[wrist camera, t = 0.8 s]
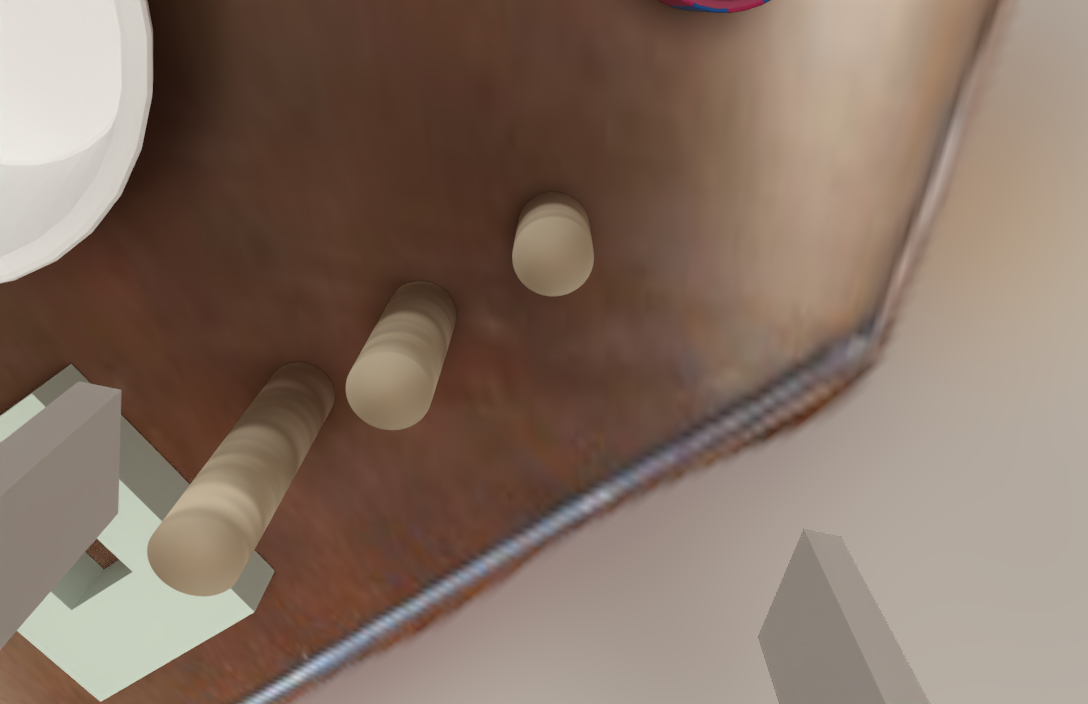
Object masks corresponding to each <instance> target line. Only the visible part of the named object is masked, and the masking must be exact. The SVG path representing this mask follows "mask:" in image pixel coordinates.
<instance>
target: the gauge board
mask: <svg viewBox="0 0 1088 704" xmlns="http://www.w3.org/2000/svg"><path fill="white" fill-rule="evenodd" d="M78 381H80V382H85V383H90V382H89V381H88V380H87V379H86V378H85V377H84V376H83V375H82V374H81V373H80V372H79V371H78V370H77V369H76V368H75V367H74V366H73V365H72V364H70V365H69V366H68V367H66V368H65V369H63V370H62V371H61V372H59V373H58V374H57V375H55V376H54V377H52V378H51V379H50V380H48V381H47V382H46V383H44V384H43V385H41V386H40V387H39V388H37V389H36V390H35V391H33V392H32V393H30V394H29V395H28V396H26V397H25V398H24V399H22V400H21V401H19V402H18V403H17V404H15V405H14V406H13V407H11V408H10V409H8V410H7V411H6V412H4V413H3V414H2V415H0V443H1V442H2V441H3V440H4V439H6V438H7V437H8V436H10V435H11V434H12V433H13V432H15V431H16V430H17V429H18V428H20V427H21V426H22V425H24V424H25V423H26V422H27V421H29V420H30V419H31V418H33V417H34V416H35V415H36V414H38V413H39V412H40V411H41V410H43V409H44V408H45V407H47V406H48V405H49V404H50V403H52V402H53V401H54V400H55V399H57V398H58V397H59V396H61V395H62V394H63V393H64V392H66V391H67V390H68V389H69V388H71V387H72V386H73V385H75V384H76V383H77V382H78ZM90 384H91V383H90ZM189 485H190V484H189V483H188V482H187V481H186V480H185V479H184V478H183V477H182V476H181V475H180V474H179V473H178V472H177V471H176V470H175V469H174V468H173V467H172V466H171V465H170V464H169V463H168V462H167V461H166V460H165V459H164V458H163V457H162V456H161V455H160V454H159V452H158V451H157V450H156V449H155V448H154V447H153V446H152V445H151V444H150V443H149V442H148V441H147V440H146V439H145V438H144V437H143V436H142V435H141V434H140V433H139V432H138V431H137V430H136V429H135V428H134V427H133V426H132V425H131V424H130V423H129V422H128V421H127V420H126V419H125V418H124V417H123V416H122V415H121V423H120V462H119V502H118V514H117V515H116V517H115V518H114V519H113V520H112V521H111V522H110V523H109V525H108V526H107V527H106V528H105V529H104V530H103V532H102V533H101V534H100V535H99V536H98V537H97V539H98V540H99V541H100V542H101V543H102V544H103V545H104V546H105V547H107V548H108V549H109V550H110V551H111V552H112V553H113V554H114V555H115V556H116V557H117V558H118V559H119V560H118V561H116V562H115V563H113V564H111V565H110V566H108V567H107V568H105V569H103V568H102V567H101V566H100V565H99V564H98V563H97V562H96V561H95V560H93V559H92V558H91V557H90V556H89V555H88V554H87V553H86V552H84V553H83V555H82V556H81V557H80V558H79V559H78V560H77V562H76V563H75V564H74V565H73V566H72V567H71V568H70V570H69V571H68V572H67V573H66V574H65V575H64V577H63V578H62V579H61V580H60V581H59V582H58V584H57V585H56V586H55V587H54V588H53V589H52V590H51V592H50V593H49V594H48V595H47V596H46V597H45V599H44V600H43V601H42V602H41V603H40V604H39V605H38V607H37V608H36V609H35V610H34V611H33V612H32V614H31V615H30V616H29V617H28V618H27V619H26V620H25V622H24V623H23V624H22V625H21V626H20V627H19V629H18V630H17V631H18V632H19V633H20V634H21V635H23V636H24V637H25V638H26V639H27V640H28V641H30V642H31V643H32V644H33V645H34V646H35V647H37V648H38V649H39V650H40V651H41V652H42V653H44V654H45V655H46V656H47V657H48V658H50V659H51V660H52V661H53V662H54V663H55V664H57V665H58V666H59V667H60V668H61V669H62V670H64V671H65V672H66V673H67V674H68V675H69V676H71V677H72V678H73V679H74V680H75V681H77V682H78V683H79V684H80V685H81V686H82V687H84V688H85V689H86V690H87V691H88V692H89V693H91V694H92V695H93V696H94V697H95V698H96V699H98V700H99V701H100V702H101V701H103V700H104V699H106V698H108V697H110V696H111V695H113V694H115V693H116V692H118V691H120V690H122V689H123V688H125V687H127V686H129V685H130V684H132V683H134V682H135V681H137V680H139V679H141V678H142V677H144V676H146V675H147V674H149V673H151V672H153V671H154V670H156V669H158V668H159V667H161V666H163V665H165V664H166V663H168V662H170V661H171V660H173V659H175V658H177V657H178V656H180V655H182V654H183V653H185V652H187V651H189V650H190V649H192V648H194V647H195V646H197V645H199V644H201V643H202V642H204V641H206V640H207V639H209V638H211V637H213V636H214V635H216V634H218V633H219V632H221V631H223V630H225V629H226V628H228V627H230V626H231V625H233V624H235V623H237V622H238V621H240V620H242V619H243V618H245V617H247V616H249V615H250V614H252V613H254V612H255V610H256V608H257V606H258V604H259V602H260V600H261V598H262V596H263V594H264V592H265V590H266V588H267V586H268V584H269V582H270V580H271V578H272V576H273V574H274V572H275V571H274V570H273V569H272V567H271V566H270V565H269V564H268V563H267V562H266V561H265V560H264V559H263V558H262V557H261V556H260V555H259V554H258V553H257V552H256V551H255V550H254V551H253V553H252V555H251V557H250V559H249V560H248V562H247V564H246V566H245V568H244V570H243V571H242V573H241V575H240V577H239V579H238V580H237V582H236V583H235V584H234V585H233V586H232V587H231V588H230V589H228V590H227V591H225V592H223V593H220V594H217V595H213V596H193V595H188V594H185V593H182V592H179V591H177V590H175V589H173V588H171V587H170V586H168V585H167V584H165V583H164V582H163V581H162V580H161V579H160V578H159V577H158V576H157V575H156V574H155V572H154V571H153V569H152V568H151V566H150V563H149V560H148V556H147V546H148V542H149V540H150V538H151V536H152V535H153V533H154V532H155V530H156V529H157V528H158V526H159V525H160V524H161V522H162V521H163V520H164V518H165V517H166V516H167V514H168V513H169V512H170V511H171V509H172V508H173V507H174V505H175V504H176V503H177V501H178V500H179V499H180V497H181V496H182V495H183V493H184V492H185V491H186V489H187V488H188V487H189Z"/></svg>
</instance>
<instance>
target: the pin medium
mask: <svg viewBox="0 0 1088 704" xmlns="http://www.w3.org/2000/svg"><path fill="white" fill-rule="evenodd" d="M456 319H457V311H456V307H455V304H454V302H453V300H452V298H451V296H450V295H449V294H448V293H447V292H446V291H445V290H444V289H443V288H441V287H440V286H438V285H436V284H434V283H431V282H427V281H413V282H409V283H407V284H404V285H403V286H401V287H400V288H398V289H397V290H396V291H395V292H394V294H393V295H392V297H391V299H390V300H389V302H388V304H387V306H386V308H385V309H384V311H383V313H382V315H381V317H380V318H379V320H378V322H377V324H376V326H375V327H374V329H373V331H372V333H371V335H370V336H369V338H368V340H367V342H366V344H365V346H364V347H363V349H362V351H361V353H360V355H359V356H358V358H357V360H356V362H355V364H354V365H353V367H352V369H351V371H350V373H349V375H348V377H347V381H346V396H347V399H348V402H349V404H350V406H351V408H352V410H353V411H354V412H355V413H356V414H357V416H358V417H359V418H361V419H362V420H363V421H365V422H366V423H368V424H370V425H372V426H374V427H377V428H380V429H385V430H400V429H405V428H408V427H410V426H412V425H414V424H416V423H417V422H419V421H420V420H421V419H422V418H423V417H424V416H425V414H426V413H427V411H428V410H429V407H430V405H431V402H432V398H433V395H434V392H435V389H436V385H437V382H438V379H439V376H440V372H441V369H442V366H443V363H444V359H445V356H446V353H447V350H448V347H449V343H450V340H451V337H452V334H453V330H454V327H455V324H456Z"/></svg>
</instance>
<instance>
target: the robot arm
mask: <svg viewBox="0 0 1088 704" xmlns="http://www.w3.org/2000/svg"><path fill="white" fill-rule="evenodd" d="M120 423H121V390H119V389H115V388H110V387H105V386H100V385H95V384H90V383H85V382H80V381H78V382H77V383H76V384H75V385H73V386H72V387H71V388H69V389H68V390H67V391H66V392H64V393H63V394H62V395H61V396H59V397H58V398H57V399H55V400H54V401H53V402H52V403H50V404H49V405H48V406H47V407H45V408H44V409H43V410H41V411H40V412H39V413H38V414H36V415H35V416H34V417H33V418H31V419H30V420H29V421H27V422H26V423H25V424H24V425H22V426H21V427H20V428H18V429H17V430H16V431H15V432H13V433H12V434H11V435H10V436H8V437H7V438H6V439H4V440H3V441H2V442H1V443H0V649H1V648H2V647H3V646H4V645H5V644H6V642H7V641H8V640H9V639H10V638H11V637H12V635H13V634H14V633H15V632H16V631H17V630H18V629H19V627H20V626H21V625H22V624H23V623H24V622H25V620H26V619H27V618H28V617H29V616H30V615H31V614H32V612H33V611H34V610H35V609H36V608H37V607H38V605H39V604H40V603H41V602H42V601H43V600H44V599H45V597H46V596H47V595H48V594H49V593H50V592H51V590H52V589H53V588H54V587H55V586H56V585H57V584H58V582H59V581H60V580H61V579H62V578H63V577H64V575H65V574H66V573H67V572H68V571H69V570H70V568H71V567H72V566H73V565H74V564H75V563H76V562H77V560H78V559H79V558H80V557H81V556H82V555H83V553H84V552H85V551H86V550H87V549H88V548H89V547H90V545H91V544H92V543H93V542H94V541H95V540H96V538H97V537H98V536H99V535H100V534H101V533H102V532H103V530H104V529H105V528H106V527H107V526H108V525H109V523H110V522H111V521H112V520H113V519H114V518H115V517H116V515H117V514H118V502H119V462H120ZM758 638H759V641H760V645H761V648H762V651H763V654H764V657H765V660H766V663H767V667H768V670H769V673H770V676H771V679H772V682H773V685H774V689H775V691H776V695H777V698H778V701H779V704H930V702H929V700H928V698H927V697H926V695H925V693H924V691H923V689H922V687H921V686H920V684H919V682H918V680H917V678H916V676H915V674H914V672H913V671H912V669H911V667H910V665H909V663H908V661H907V659H906V657H905V655H904V654H903V652H902V650H901V648H900V646H899V644H898V642H897V641H896V639H895V637H894V635H893V633H892V631H891V629H890V628H889V626H888V624H887V622H886V620H885V618H884V616H883V614H882V613H881V611H880V609H879V607H878V605H877V603H876V601H875V599H874V598H873V596H872V594H871V592H870V590H869V588H868V586H867V584H866V582H865V581H864V579H863V577H862V575H861V573H860V572H859V569H858V567H857V566H856V564H855V562H854V560H853V558H852V556H851V554H850V553H849V551H848V549H847V547H846V545H845V543H844V541H843V539H842V538H841V537H840V536H836V535H831V534H825V533H821V532H816V531H811V530H806V529H804V530H803V532H802V534H801V537H800V539H799V541H798V544H797V546H796V549H795V551H794V553H793V556H792V558H791V560H790V563H789V565H788V567H787V570H786V572H785V574H784V577H783V579H782V581H781V584H780V586H779V589H778V591H777V593H776V596H775V598H774V600H773V603H772V605H771V607H770V610H769V612H768V615H767V617H766V619H765V622H764V624H763V626H762V629H761V631H760V633H759V636H758Z"/></svg>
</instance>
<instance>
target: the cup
mask: <svg viewBox="0 0 1088 704" xmlns="http://www.w3.org/2000/svg"><path fill="white" fill-rule="evenodd" d="M659 1H661V2H662V3H665V4H667V5H669V6H671V7H674V8H679V9H683V10H690V11H703V12H718V13H732V12H739V11H745V10H749V9H751V8H754V7H757V6H760V5H763V4H764V3H766V2H768V1H770V0H659Z"/></svg>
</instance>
